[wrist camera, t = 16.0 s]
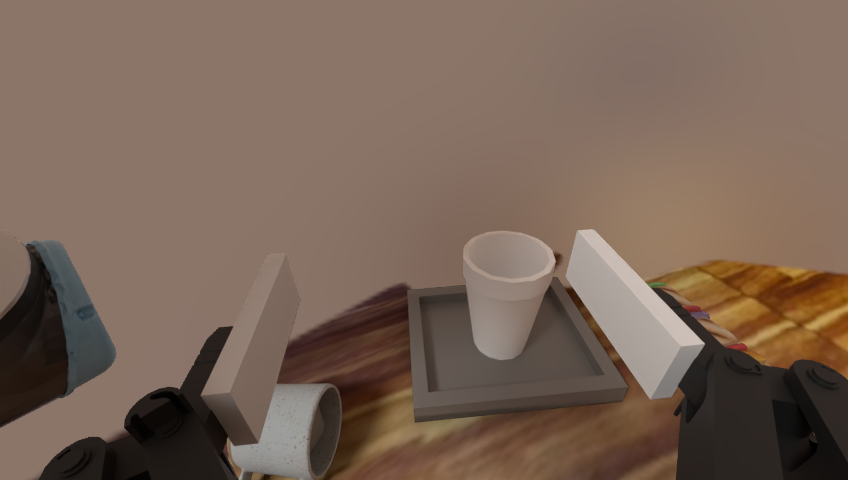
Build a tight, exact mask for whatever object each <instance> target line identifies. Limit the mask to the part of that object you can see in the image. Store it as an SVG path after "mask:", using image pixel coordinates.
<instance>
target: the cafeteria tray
mask: <svg viewBox="0 0 848 480" xmlns="http://www.w3.org/2000/svg"><path fill="white" fill-rule="evenodd" d="M407 296H408V314H409V332H410V350H411V368H412V387H413V405H414V416H415V422H425V421H434V420H444V419H454V418H464V417H474V416H484V415H493V414H503V413H513V412H523V411H533V410H542V409H552V408H562V407H572V406H582V405H591V404H601V403H611V402H621V401H622V400H623V398H624V396H625V394H626V391H627V389H628V385H627V384H626V382H625V381H624V379H623V378H622V376H621V375H620V373H619V372H618V370H617V369H616V367H615V365H614V364H613V362H612V361H611V359H610V358H609V356H608V355H607V353H606V352H605V350H604V348H603V347H602V345H601V344H600V342H599V341H598V339H597V338H596V336H595V335H594V333H593V332H592V330H591V328H590V327H589V325H588V324H587V322H586V321H585V319H584V318H583V316H582V315H581V313H580V311H579V310H578V308H577V307H576V305H575V304H574V302H573V301H572V299H571V298H570V296H569V295H568V293H567V291H566V290H565V288H564V287H563V285H562V284H561V282H560V281H559V279H558V278H557V277H553V278H552V281H551V283H550V285H549V287H548V289H547V291H546V292H545V294H544V297H543V299H542V302H541V305H540V307H539V310H538V313H537V315H536V318H535V321H534V323H533V326H532V329H531V331H530V334H529V337H528V339H527V342H526V344H525V347H524V349H523V351H522V353H521V354H519V355H518V356H516V357H515V358H513V359H507V360H498V359H494V358H490V357H488V356H486V355H485V354H483V353H482V352H480V351H479V350H478V348H477V346H476V345H475V343H474V339H473V332H472V325H471V318H470V311H469V303H468V296H467V289H466V285H460V286H449V287H437V288H426V289H414V290H407Z"/></svg>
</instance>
